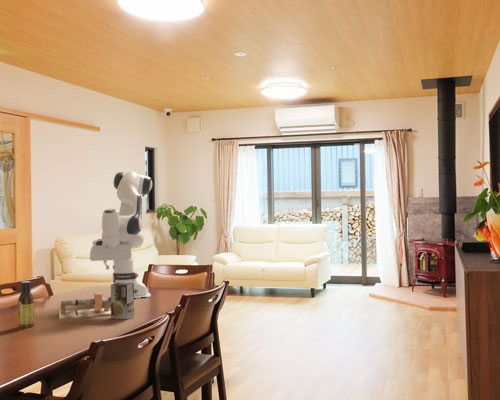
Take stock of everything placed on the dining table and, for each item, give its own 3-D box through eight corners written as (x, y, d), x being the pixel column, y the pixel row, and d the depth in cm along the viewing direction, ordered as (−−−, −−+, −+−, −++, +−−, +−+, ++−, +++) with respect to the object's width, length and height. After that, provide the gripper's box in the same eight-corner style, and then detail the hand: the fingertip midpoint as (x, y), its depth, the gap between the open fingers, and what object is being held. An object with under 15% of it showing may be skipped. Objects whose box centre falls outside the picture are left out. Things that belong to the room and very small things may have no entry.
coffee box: (134, 316, 254) (134, 283, 254) (127, 319, 248) (127, 284, 248) (117, 315, 257) (118, 282, 257) (110, 318, 251) (110, 284, 251)
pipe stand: (108, 309, 271) (108, 295, 271) (112, 315, 258) (112, 299, 258) (58, 313, 262) (58, 298, 262) (59, 319, 249) (59, 303, 249)
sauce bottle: (21, 325, 237) (21, 280, 237) (35, 324, 237) (35, 280, 237) (16, 328, 230) (16, 282, 230) (30, 328, 231) (31, 282, 231)
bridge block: (100, 307, 266) (100, 291, 266) (101, 310, 259) (101, 294, 259) (94, 308, 265) (94, 291, 265) (95, 311, 258) (95, 294, 258)
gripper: (130, 240, 274) (130, 267, 274) (89, 241, 266) (89, 269, 266) (132, 241, 268) (132, 268, 268) (90, 242, 261) (90, 270, 260)
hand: (110, 269), depth 267 cm, fingers closed
